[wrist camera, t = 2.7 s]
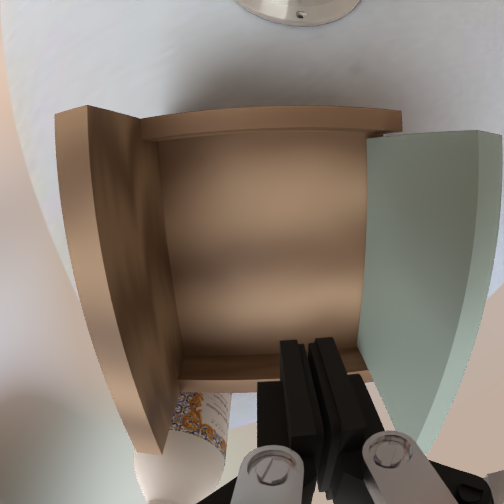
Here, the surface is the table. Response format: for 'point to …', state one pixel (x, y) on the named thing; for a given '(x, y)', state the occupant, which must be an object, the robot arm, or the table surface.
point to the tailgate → (427, 268)
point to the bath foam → (188, 452)
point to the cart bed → (214, 245)
